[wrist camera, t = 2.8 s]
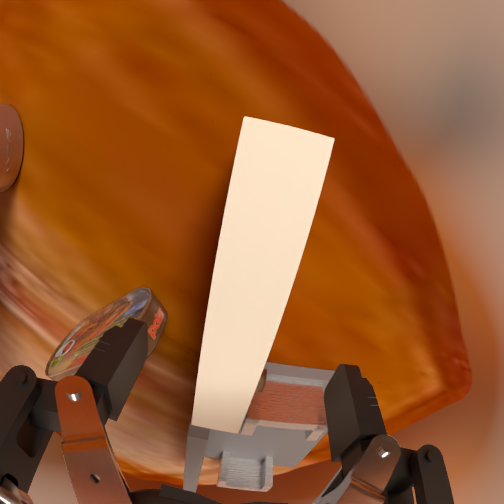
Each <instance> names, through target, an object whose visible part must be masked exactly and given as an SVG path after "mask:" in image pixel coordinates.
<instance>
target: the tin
mask: <svg viewBox="0 0 504 504" xmlns="http://www.w3.org/2000/svg"><path fill="white" fill-rule="evenodd" d="M129 317H131V318H134V319H137V320H140V321H144V322H147V325H148V352H147V357H148V356H149V355H150V354H151V353H152V351H153V350H154V349H155V347H156V345H157V343H158V341H159V338H160V336H161V333H162V331H163V329H164V326H165V323H166V320H167V312H166V311H165V309H164V308H163V306H162V305H161V304H160V302H159V301H158V300H157V299H156V298H155V297H154V295H153V294H152V292H151V290H150V289H149V288H147V287H141V288H138V289H135V290H133V291H131V292H129V293H128V294H126V295H124V296H122V297H121V298H119V299H117V300H116V301H114V302H112V303H111V304H109V305H107V306H106V307H104V308H102V309H100V310H99V311H97V312H95V313H94V314H92V315H90V316H89V317H87V318H85V319H84V320H83V321H82V322H80V323H79V324H78V325H77V326H76V327H74V328H73V329H72V330H71V331H70V333H69V334H68V335H67V336H66V337H65V338H64V339H63V341H62V342H61V343H60V344H59V346H58V347H57V348H56V350H55V351H54V353H53V354H52V356H51V358H50V360H49V361H48V364H47V366H46V370H45V373H46V376H48V377H50V378H51V379H52V380H53V381H60V380H61V379H62V378H64V377H66V376H73V375H75V374H76V372H77V371H78V369H79V368H80V366H81V365H82V364H83V362H84V361H85V359H86V358H87V356H88V355H89V353H90V352H91V351H92V349H94V346H95V345H96V344H97V342H99V339H100V338H101V337H102V335H103V334H104V333H105V331H107V330H108V329H110V328H112V327H113V326H115V325H116V326H119V327H122V326H123V325H124V323H125V322H126V321H127V319H128V318H129ZM147 357H146V359H147Z"/></svg>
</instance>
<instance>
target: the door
mask: <svg viewBox="0 0 504 504" xmlns="http://www.w3.org/2000/svg"><path fill="white" fill-rule="evenodd" d="M333 143H334V138H331V137H327V136H324V135H321V134H317V133H314V132H310V131H306V130H303V129H299V128H295V127H291V126H287V125H283V124H278V123H274V122H270V121H265V120H260V119H256V118H251V117H245V116H244V119H243V124H242V128H241V133H240V138H239V142H238V147H237V151H236V156H235V161H234V166H233V171H232V175H231V180H230V185H229V190H228V195H227V200H226V206H225V211H224V216H223V221H222V227H221V232H220V238H219V243H218V249H217V254H216V260H215V266H214V271H213V277H212V283H211V289H210V295H209V301H208V308H207V314H206V320H205V327H204V334H203V340H202V347H201V354H200V361H199V368H198V376H197V383H196V391H195V399H194V407H193V415H192V424H191V425H195V426H199V427H204V428H209V429H214V430H219V431H225V432H230V433H237V434H238V432H239V430H240V428H241V425H242V423H243V420H244V418H245V415H246V413H247V410H248V408H249V405H250V403H251V400H252V398H253V395H254V392H255V391H257V392H263V390H264V387H265V383H266V377H267V370H266V369H264V366H265V363H266V360H267V358H268V355H269V352H270V349H271V347H272V344H273V341H274V338H275V335H276V333H277V330H278V327H279V324H280V321H281V318H282V315H283V312H284V309H285V306H286V303H287V300H288V297H289V294H290V291H291V288H292V285H293V282H294V279H295V276H296V273H297V270H298V267H299V263H300V260H301V257H302V254H303V251H304V247H305V244H306V241H307V237H308V234H309V231H310V227H311V224H312V220H313V217H314V214H315V210H316V207H317V203H318V200H319V196H320V192H321V189H322V185H323V181H324V178H325V174H326V170H327V166H328V163H329V159H330V155H331V151H332V147H333Z"/></svg>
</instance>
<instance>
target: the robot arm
mask: <svg viewBox="0 0 504 504" xmlns="http://www.w3.org/2000/svg"><path fill="white" fill-rule="evenodd" d="M22 155H23V130H22V125H21V120H20V118H19V115H18V113H17V112H16V110H15V109H14V108H13V107H12V106H10V105H6V104H2V105H0V193H1V192H4V191H6V190H7V189H9V188H10V187H11V186H12V184H13V183H14V181H15V180H16V178H17V175H18V173H19V170H20V166H21V161H22ZM147 352H148V325H147V322H144V321H140V320H137V319H134V318H131V317H129V318H128V319H127V321H126V322H125V323H124V325H123V326H122V327H119V326H116V325H115V326H113V327H112V328H110V329H108V330H107V331H105V333H104V334H103V335H102V337H101V338H100V339H99V342H97V344H96V345H95V346H94V349H92V351H91V352H90V353H89V355H88V356H87V358H86V359H85V361H84V362H83V364H82V365H81V366H80V368H79V369H78V371H77V372H76V374H75V375H73V376H66V377H64V378H62V379H61V380H60V381H51V380H46V379H41V378H37V377H36V374H35V372H34V371H33V370H32V369H31V368H29V367H27V366H24V365H19V366H15V367H13V368H11V369H10V370H9V371H8V372H7V374H6V375H5V377H4V378H3V379H2V381H1V382H0V504H33V501H32V499H31V498H30V497H29V495H28V494H27V493H28V490H29V487H30V485H31V482H32V480H33V477H34V475H35V472H36V470H37V467H38V465H39V463H40V460H41V458H42V456H43V453H44V451H45V449H46V447H47V445H48V442H49V440H50V438H51V436H52V434H53V432H54V431H58V432H62V435H63V442H62V451H63V455H64V459H65V463H66V466H67V470H68V473H69V477H70V480H71V483H72V486H73V489H74V492H75V495H76V498H77V500H78V503H79V504H221V503H218V502H216V501H213V500H211V499H208V498H206V497H204V496H201V495H199V494H196V493H194V492H191V491H187V490H183V489H179V488H175V487H171V486H167V485H164V484H162V485H161V489H142V490H137V491H133V492H131V491H130V489H129V487H128V485H127V483H126V480H125V478H124V476H123V474H122V472H121V469H120V467H119V465H118V462H117V460H116V457H115V455H114V452H113V449H112V446H111V444H110V441H109V438H108V435H107V432H106V429H105V424H106V422H107V420H108V418H110V419H112V420H115V421H117V419H118V417H119V415H120V413H121V411H122V408H123V406H124V404H125V402H126V400H127V398H128V396H129V394H130V391H131V389H132V387H133V385H134V383H135V381H136V379H137V377H138V375H139V373H140V371H141V369H142V367H143V365H144V363H145V360H146V357H147ZM324 405H325V413H326V420H327V427H328V435H329V443H330V451H331V460H332V462H341V463H342V467H341V468H340V469H339V470H338V472H337V473H336V475H335V476H334V477H333V479H332V480H331V481H330V483H329V484H328V485H327V487H326V488H325V489H324V490H323V492H322V493H321V494H320V495H319V497H318V498H317V499H316V500H315V501H314V502H313V503H312V504H414V498H413V492H412V487H414V489H415V494H416V501H417V504H454V501H453V496H452V492H451V487H450V483H449V479H448V475H447V471H446V467H445V464H444V460H443V456H442V454H441V452H440V450H439V449H438V448H437V447H435V446H433V445H424V446H422V447H421V448H420V449H418V450H417V451H415V450H410V449H406V448H401V447H400V445H399V443H398V442H397V441H396V440H395V439H394V438H393V437H391V436H389V435H387V433H386V429H385V426H384V422H383V419H382V415H381V412H380V409H379V406H378V402H377V399H376V395H375V392H374V389H373V387H372V385H371V384H370V383H369V381H368V380H367V379H366V378H362V376H361V372H360V369H359V367H358V366H357V365H347V364H340V365H339V366H338V368H337V369H336V371H335V373H334V374H333V376H332V378H331V379H330V381H329V383H328V384H327V386H326V388H325V391H324ZM242 504H288V503H268V502H253V503H242Z"/></svg>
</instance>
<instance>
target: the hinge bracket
mask: <svg viewBox="0 0 504 504" xmlns="http://www.w3.org/2000/svg"><path fill="white" fill-rule="evenodd" d="M264 369H266V370H267V377H266V383H265V387H264V390H263V392H257V391H255V392H254V395H253V398H252V400H251V403H250V405H249V408H248V410H247V413H246V415H245V418H244V420H243V423H242V425H241V428H240V430H239V432H238V434H237V433H230V432H225V431H219V430H214V429H209V428H204V427H199V426H195V425H191V424H192V417H191V421H190V426H189V430H188V434H187V443H186V455H185V468H184V483H183V490H187V491H191V492H194V493H196V488H197V484H198V480H199V476H200V472H201V468H202V463H203V459H204V456H205V457H210V458H216V459H220V466H219V474H218V481H217V486H219V487H226V488H234V489H242V490H252V491H265V492H267V491H268V490H269V489H270V488H271V487H272V484H273V466H288V467H295V466H296V465H297V464H298V463H299V462H300V461H301V460H302V459H303V458H304V457H305V456H306V455H307V454H308V453H309V452H310V451H311V449H312V448H313V447H314V446H315V445H316V444H317V443H318V442H319V440H320V439H321V438H322V437H323V436H324V435H325V433H326V432H327V431H328V427H327V420H326V413H325V405H324V391H325V388H326V386H327V384H328V383H329V381H330V379H331V378H332V376H333V374H334V373H335V371H333V370H323V369H314V368H306V367H298V366H291V365H284V364H277V363H271V362H266V363H265V366H264ZM361 376H362V375H361ZM192 415H193V413H192Z"/></svg>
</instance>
